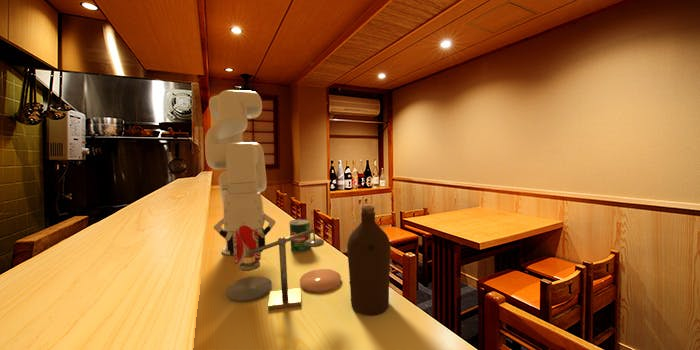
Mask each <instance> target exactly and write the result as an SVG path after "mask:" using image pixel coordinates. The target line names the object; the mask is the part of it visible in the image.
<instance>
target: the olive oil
mask: <svg viewBox="0 0 700 350" xmlns="http://www.w3.org/2000/svg"><path fill="white" fill-rule="evenodd" d="M360 210H361V212H360V218H361V219H360V220H361V222H360V223H359V225H357V227H356V228H355V229H354V230H353V231H352V232H351V233H350V235H349V236H348V237H349V238H348V239H347V245H346V248H347V249H346V250H347V262H348V274H349V289H350V304H351V308H352V310H353V311H355V313H358V314H360V315H363V316H377V315H381V314H383V313H385V312H386V311H387V310H388V309H389V305H390V304H389V303H390V274H391V273H390V269H391V266H390V265H391V242H390V238H389V236H388V234H387V233H386V232H385V231H384V230H383V229H382V228H381V227H380V226H379V225H378V223H377V222H376V212H375V206H373V205H372V206H371V205H364V206H361V209H360Z"/></svg>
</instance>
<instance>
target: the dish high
mask: <svg viewBox="0 0 700 350" xmlns="http://www.w3.org/2000/svg"><path fill="white" fill-rule="evenodd" d="M341 282H342V278H341V274H340V273H339V272H338V271H336V270H334V269H333V270H332V269H329V268H319V269H318V268H317V269H315V270H314V269H313V270H310V271H307V272H306V273H304V274H303V275H302V276H301V277H300V278H299V286H300V288H301V287H302V289H303V291H306V290H307V292H309V291H310V293H326V292H329V291H333V290H335V289H336V288H338V287H339V286H340V284H341Z"/></svg>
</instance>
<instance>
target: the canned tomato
mask: <svg viewBox="0 0 700 350" xmlns="http://www.w3.org/2000/svg"><path fill="white" fill-rule="evenodd" d="M308 230H311V221H310V219H306V218H305V219H303V218H297V219H293V220H290V221H289V237H290V236H293V235H296V234H299V233H302V232H305V231H308ZM311 235H312V234H308V235H305V236H302V237H300V238H297V239H294V240H291V241H290V251H291V252H292V251H293V253H297V252H301V253H306V252H309V251H311V249H312V247H307V246H305V241H306V240H309V239H312V238H311ZM305 251H306V252H305Z"/></svg>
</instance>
